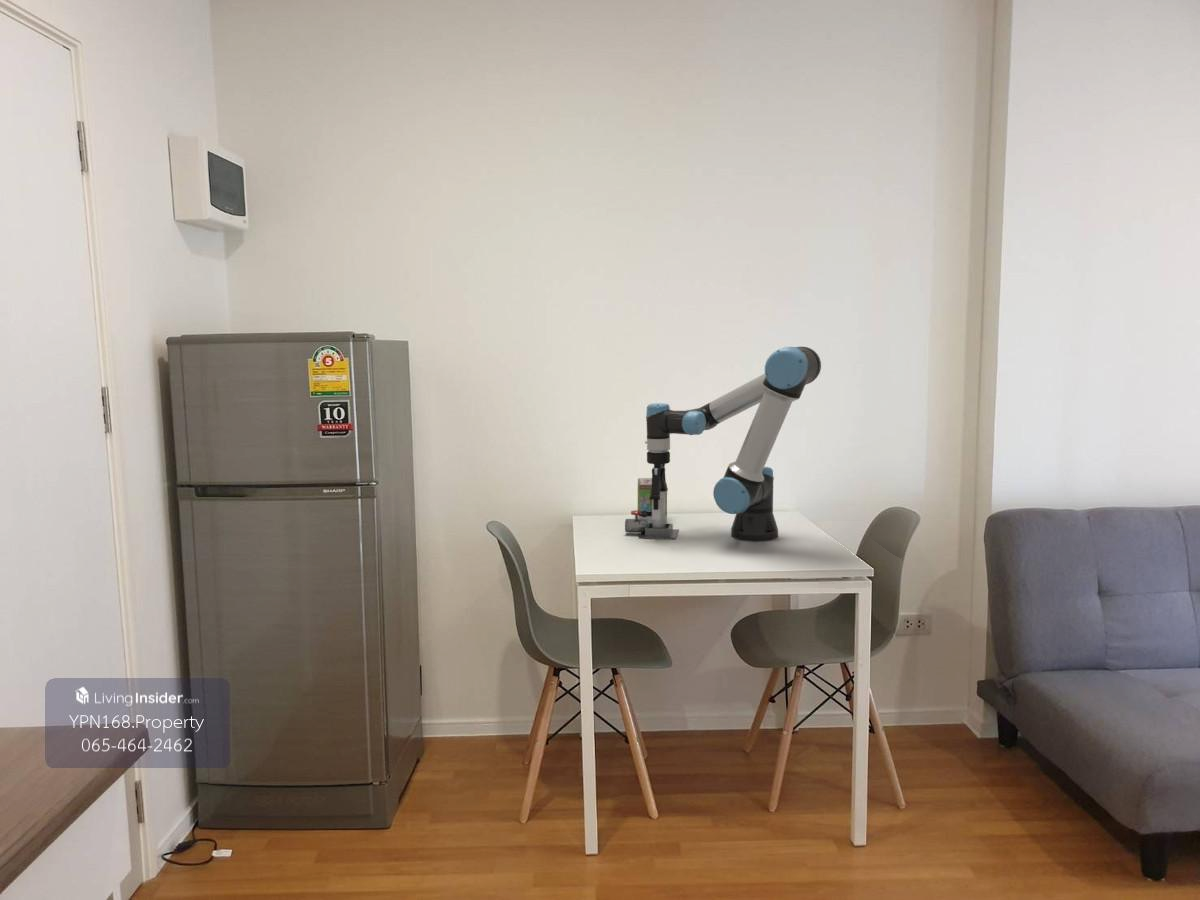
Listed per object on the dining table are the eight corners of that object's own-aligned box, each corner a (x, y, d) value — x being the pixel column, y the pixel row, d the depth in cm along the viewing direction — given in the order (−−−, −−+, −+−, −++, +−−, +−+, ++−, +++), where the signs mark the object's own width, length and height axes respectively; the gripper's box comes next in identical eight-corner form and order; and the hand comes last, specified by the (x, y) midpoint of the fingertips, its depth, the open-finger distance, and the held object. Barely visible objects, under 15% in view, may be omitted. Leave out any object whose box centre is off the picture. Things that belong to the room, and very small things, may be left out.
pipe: (666, 531, 284) (666, 496, 282) (664, 535, 280) (664, 499, 278) (653, 531, 285) (652, 496, 283) (651, 534, 280) (651, 498, 279)
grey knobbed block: (679, 531, 287) (679, 508, 286) (675, 539, 275) (675, 516, 274) (629, 529, 290) (628, 507, 289) (623, 538, 279) (622, 515, 278)
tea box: (667, 526, 295) (667, 484, 293) (638, 526, 295) (638, 484, 293) (665, 516, 310) (664, 476, 308) (637, 517, 310) (636, 477, 308)
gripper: (652, 445, 292) (652, 507, 294) (641, 456, 267) (642, 522, 270) (674, 446, 290) (674, 507, 293) (665, 456, 266) (665, 523, 269)
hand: (659, 514), depth 282 cm, fingers open, 13 cm apart
